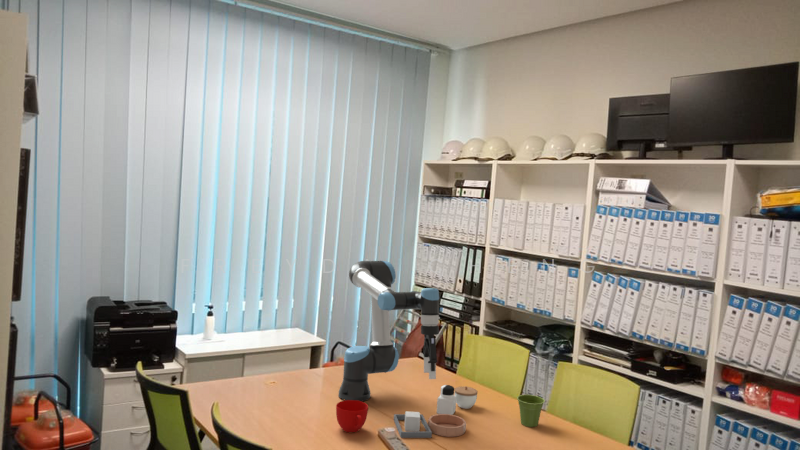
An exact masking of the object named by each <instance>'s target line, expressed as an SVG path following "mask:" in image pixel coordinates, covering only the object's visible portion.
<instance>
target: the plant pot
mask: <svg viewBox="0 0 800 450" xmlns="http://www.w3.org/2000/svg"><path fill="white" fill-rule="evenodd" d="M516 399H517V400H518V401H517V402H518V405H519V415H520V416H519V417H520V424H521V425H523V426H525V427H528V428H533V427H535V428H536V427H538V426H539V421H540V417H541V412H542V408H543V405H544V403H545V401H546V400H545V399H544V398H543V397H541V396H537V395H533V394H521V395H518V396H517V397H516Z"/></svg>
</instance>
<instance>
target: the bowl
mask: <svg viewBox="0 0 800 450" xmlns="http://www.w3.org/2000/svg"><path fill="white" fill-rule="evenodd" d="M427 424H428V426H429V428H430V430H431V432H432V434H435V435H437V436H441V437H449V438H452V437H453V438H454V437H460V436H463V435H464V434H465V432H466V429H467V422H466V420H465V419H464V418H463V417H460V416H458V415H455V414H453V415H450V414H438V413H436V414H433V415H431V416H429V418H428V419H427Z"/></svg>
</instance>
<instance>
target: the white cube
mask: <svg viewBox="0 0 800 450" xmlns="http://www.w3.org/2000/svg"><path fill="white" fill-rule="evenodd" d="M404 414H405V420H404V425H403V426H404V432H421V431H420V430H421V429H420V427H421V420H420V414H421V413H420V411H407V410H406V411H405V413H404Z"/></svg>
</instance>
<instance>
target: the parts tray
mask: <svg viewBox="0 0 800 450" xmlns="http://www.w3.org/2000/svg"><path fill="white" fill-rule="evenodd" d="M400 421H405V413H403V414H402V413H401V414H400V413H399V414H398V413H394V414H393V422H394V424H395V427H396V430H397V432H398V434H399V437H401V439H403V438H405V439H407V438H408V439H410V438H411V439H414V438H419V439H420V438H424V439H425V438H427V439H428V438H429V439H431V438H432V436H433V435H432V434H433V433H432V432H431V430H430V428H429V426H428V421H427V420H426V418H425V416H424V415H423V414H421V413H420V423H421V424H422V426H423V427H424V429H425V430H424V431H403V429H402V427H401V426H402V425H401V424H400Z"/></svg>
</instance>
